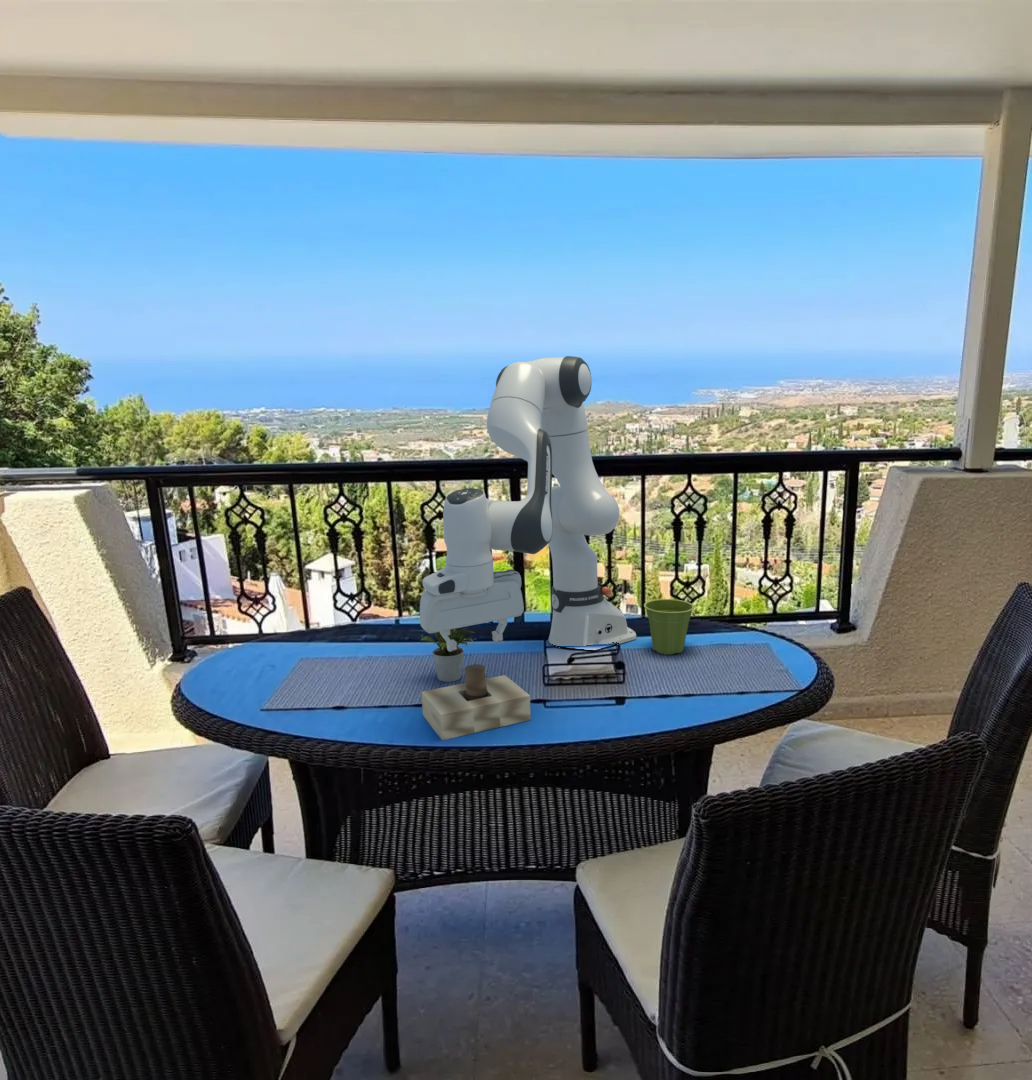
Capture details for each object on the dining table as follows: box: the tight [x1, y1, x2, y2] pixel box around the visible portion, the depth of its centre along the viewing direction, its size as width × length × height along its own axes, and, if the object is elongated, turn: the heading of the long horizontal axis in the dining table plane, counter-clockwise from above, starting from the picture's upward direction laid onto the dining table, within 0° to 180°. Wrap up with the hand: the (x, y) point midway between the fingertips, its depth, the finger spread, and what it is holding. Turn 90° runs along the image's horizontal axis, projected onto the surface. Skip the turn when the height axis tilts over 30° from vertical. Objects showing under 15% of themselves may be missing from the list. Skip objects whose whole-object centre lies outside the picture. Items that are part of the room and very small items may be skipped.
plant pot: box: [643, 598, 695, 656], centre depth 175 cm, size 12×12×11 cm
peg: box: [463, 663, 487, 701], centre depth 142 cm, size 4×4×10 cm
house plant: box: [415, 617, 476, 683], centre depth 161 cm, size 14×14×16 cm
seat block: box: [421, 674, 531, 741], centre depth 142 cm, size 18×12×5 cm, turn 114°
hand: (475, 645), depth 140 cm, fingers open, 8 cm apart
